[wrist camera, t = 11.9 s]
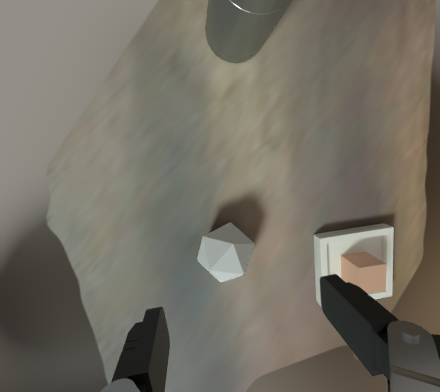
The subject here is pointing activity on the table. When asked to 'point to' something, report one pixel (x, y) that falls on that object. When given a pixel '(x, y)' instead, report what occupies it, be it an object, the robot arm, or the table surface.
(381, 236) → the tray
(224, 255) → the die
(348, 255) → the cube
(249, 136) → the table surface
